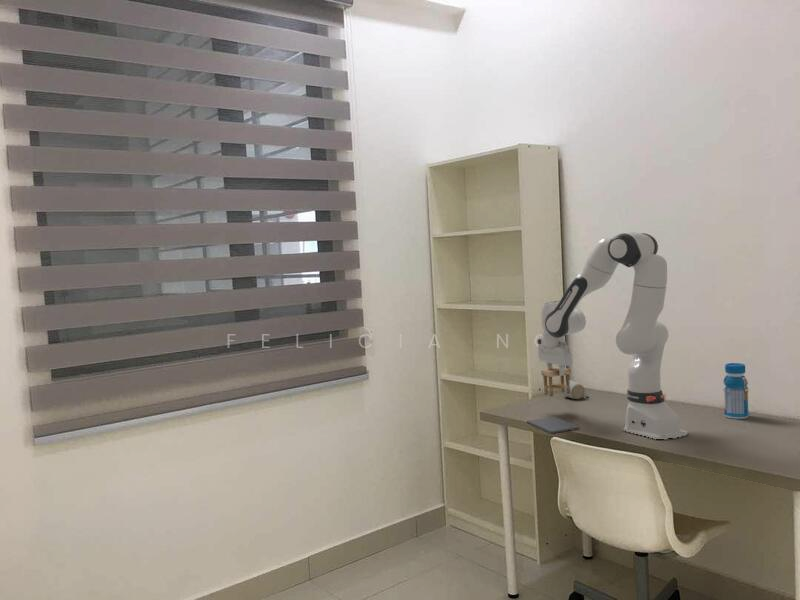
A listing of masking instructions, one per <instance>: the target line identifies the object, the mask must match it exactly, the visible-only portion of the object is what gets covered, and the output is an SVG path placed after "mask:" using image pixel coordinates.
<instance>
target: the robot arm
mask: <svg viewBox="0 0 800 600" xmlns="http://www.w3.org/2000/svg"><path fill="white" fill-rule="evenodd" d="M658 250H659V245H658V241H657V239H656V238H655V237H654V236H652V235H651V234H648V233H645V232H644V233H643V232H642V233H639V232H638V233H637V232H626V233H624V232H623V233H619V234H617V235H614V236H613V237H612V238H610V237H609V238H608V237H604V238H602V239H599V241H598V242H597V243H596V244H595V246H594V247H593V248H592V250H591V252H589V255H588V256H587V258H586V260H585V262H584V264H583V266H582V268H581V269H580V271H579V273H578V274H577V276H576V277H575V278H574V280H572V282H571V284H570V285H569V286H568V287H567V289H566V291H565V293H564V294H563V295H562V297H561V299H560V300H556V301H555V300H554V301H550V302H549V301H548V302H545V303H543V305H542V307H541V313H540V314H541V316H540V318H541V325H542V336H541V337H540V338H537V340H536V344H537V345H538V346H537V352H538V355H537V356H538V359H539V361H540V362H545V364H546V368H547V370H548V369H554V367H553V365H558V368H560V369H559V371H558V375H559V376H563V375H564V369H565V368H566V367H569V366H572V364H573V357H572V352H571V348H570V346H569V345H568V344H567V342H566V340H565V339H566V337H565V336H567V335H568V336H569V335H572V334H576V333H579V332H581V331H583V330H584V328H585V327H586V323H587V322H586V321H587V320H586V316H585V314H584V312H582V311H581V310H580V309H576V308H577V306H578V305H579V303H580V301H582V299H584V298H585V297H586V296H587V295H589V294H591V293H593V292H595V291H598V290H600V289H601V288H603V287H605V286H606V284H607V283H608V282H609V281H610V279H611V278H612V276H613V275H614V273H615V271H616V269H617V267H618V265H619V264H622V266H623V265H624V266H625V267H627V268H631V267H632V268H633V270H634V277H633V285H632V293H631V300H630V304H629V306H628V307H629V308H628V311H627V313H626V316H625V319H624V322H623V324H622V326H621V328H620V329H619V331H618V332H617V334H616V335H615V336H616V337H615V344H616V347H617V349H618V350H619V351H620V352H621V353H623V354H626V355H631V356H632V358H631V361H630V363H629V365H628V367H627V384H628V388H627V392H626V396H627V400H628V404H627V407H626V409H625V410H626V411H625V412H626V413H625V425H624V427H623V430H624V431H623V432H625V431H626V432H625V433H629V432H630V433H629V434H633V433H634V435H636V434H638V435H637V436H640V435H642V436H641V437H644V436H646V437H645V438H648V437H649V438H648V439H652V438H653V439H652V440H656V439H664V440H669V439H668V438H673V439H678V438H677V437H679V438H683V437H686V436H687V435H688V431H687V430H685V429H683V428H681V425H680V419H679V416H678V415H677V412H674V411H673V410H672V408H671V407H670V406H669V405H668V404H667V402H666V399H667V394H664V393H663V390H662V388H661V365H662V361H663V354H664V349H665V345H666V343H667V341H668V339H669V330H668V329H667V326H666V325H665V324H664V323H662V322H660V321H657V320H658V319H659V316H660V314H661V313H662V311H663V309H664V305H665V298H666V292H667V291H666V290H667V285H668V284H667V283H668V263H667V260H666V259H665V257H664V256H661V255H659V254H657V252H658ZM559 376H558V377H559ZM564 376H565V375H564ZM682 436H683V437H682Z"/></svg>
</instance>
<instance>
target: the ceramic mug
mask: <svg viewBox="0 0 800 600" xmlns="http://www.w3.org/2000/svg"><path fill="white" fill-rule="evenodd" d="M569 381H570V394H567V390H566V388H565V392H561V393H562V394H563V396H564V397H567V398H570V399H572V400H581V399H582V398H583V397H586V398H588V395H589V393H586V390H585V388H584V386H583V385H582V384H581V383H579V382H576V381H574V380H571V379H569ZM564 385H566V381H564Z"/></svg>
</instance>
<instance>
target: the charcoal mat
mask: <svg viewBox="0 0 800 600" xmlns="http://www.w3.org/2000/svg"><path fill="white" fill-rule="evenodd" d="M526 423H527V424H529V425H530V426H533V427H535V428H537V429H540V430H542V431H544V432H546V433H549V434H551V435H552V434H557V433H558V434H559V433H564V432H569V431H568V430H571V431H573V430H572V429H577V430H579V429H580V426H578V425H576V424H572V423H570V422H567V421H565V420H563V419H560V418H558V417H556V416H548V417H541V418H536V419H535V418H534V419H529V420H526ZM578 428H579V429H578Z"/></svg>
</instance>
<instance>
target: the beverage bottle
mask: <svg viewBox="0 0 800 600" xmlns="http://www.w3.org/2000/svg"><path fill="white" fill-rule="evenodd" d="M724 365H725V366H724V372H725V373H726V375H725V377H724V378H723V384H724V385H723V386H722V387H723V389H722V390H723V402H724V405H723V406H724V407H723V409H724V417H726V418H727V419H728V418H729V419H735V420H743V419H744V420H745V419H747V418H748V417H749V415H750V413H749V387H748V385H749V384H748V383H749V382H748V379H747V377H746V376H745V374H746V365H745V364H744V363H740V362H731V363H730V362H729V363H726V364H724Z"/></svg>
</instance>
